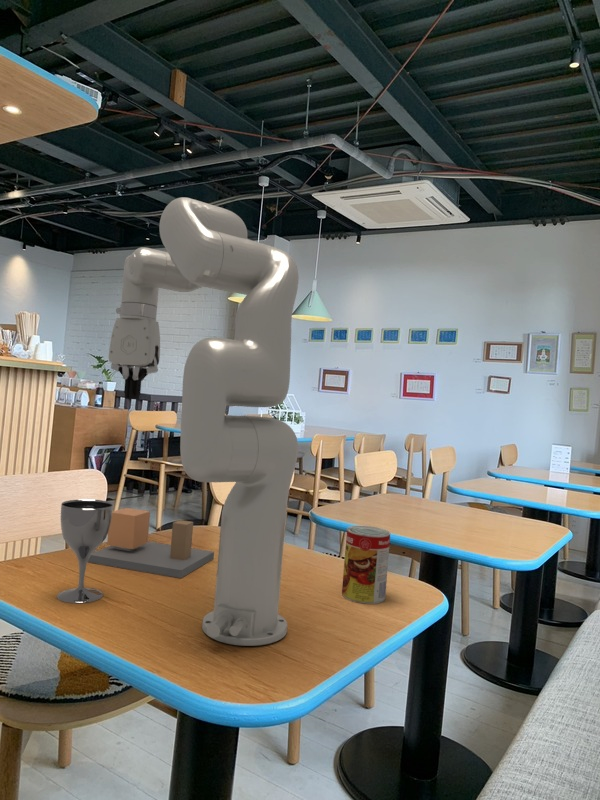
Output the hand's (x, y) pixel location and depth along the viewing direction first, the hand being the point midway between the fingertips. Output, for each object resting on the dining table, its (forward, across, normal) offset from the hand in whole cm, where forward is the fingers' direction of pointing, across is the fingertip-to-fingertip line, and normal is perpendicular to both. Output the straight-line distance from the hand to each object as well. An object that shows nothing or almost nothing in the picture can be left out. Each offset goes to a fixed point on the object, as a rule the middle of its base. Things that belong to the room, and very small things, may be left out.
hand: (131, 398), depth 126 cm
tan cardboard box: (+30, +5, -6) cm, 31 cm away
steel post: (+31, +5, -6) cm, 31 cm away
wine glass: (+32, +11, -29) cm, 45 cm away
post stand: (+32, +11, -6) cm, 34 cm away
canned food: (+32, +54, -6) cm, 63 cm away
